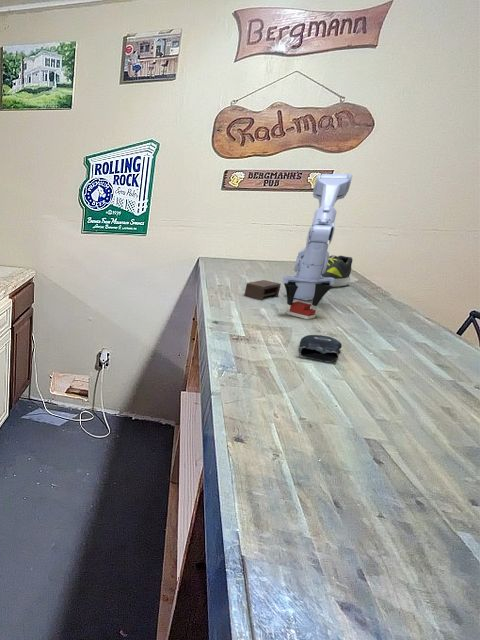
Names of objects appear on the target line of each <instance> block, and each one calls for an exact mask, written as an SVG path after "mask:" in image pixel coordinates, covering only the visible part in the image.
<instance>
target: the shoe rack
mask: <svg viewBox="0 0 480 640" xmlns="http://www.w3.org/2000/svg"><path fill="white" fill-rule="evenodd" d="M281 285H282V284H281V283H279V282H275V281H270V280H265V279H262V280H255V281H251V282H247V283H246V285H245V289H244V297H248V298H252V299H255V300H259V301H263V299H264V297H268V296H271V297H275V298H278V297H279V294H280V289H281Z"/></svg>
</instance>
